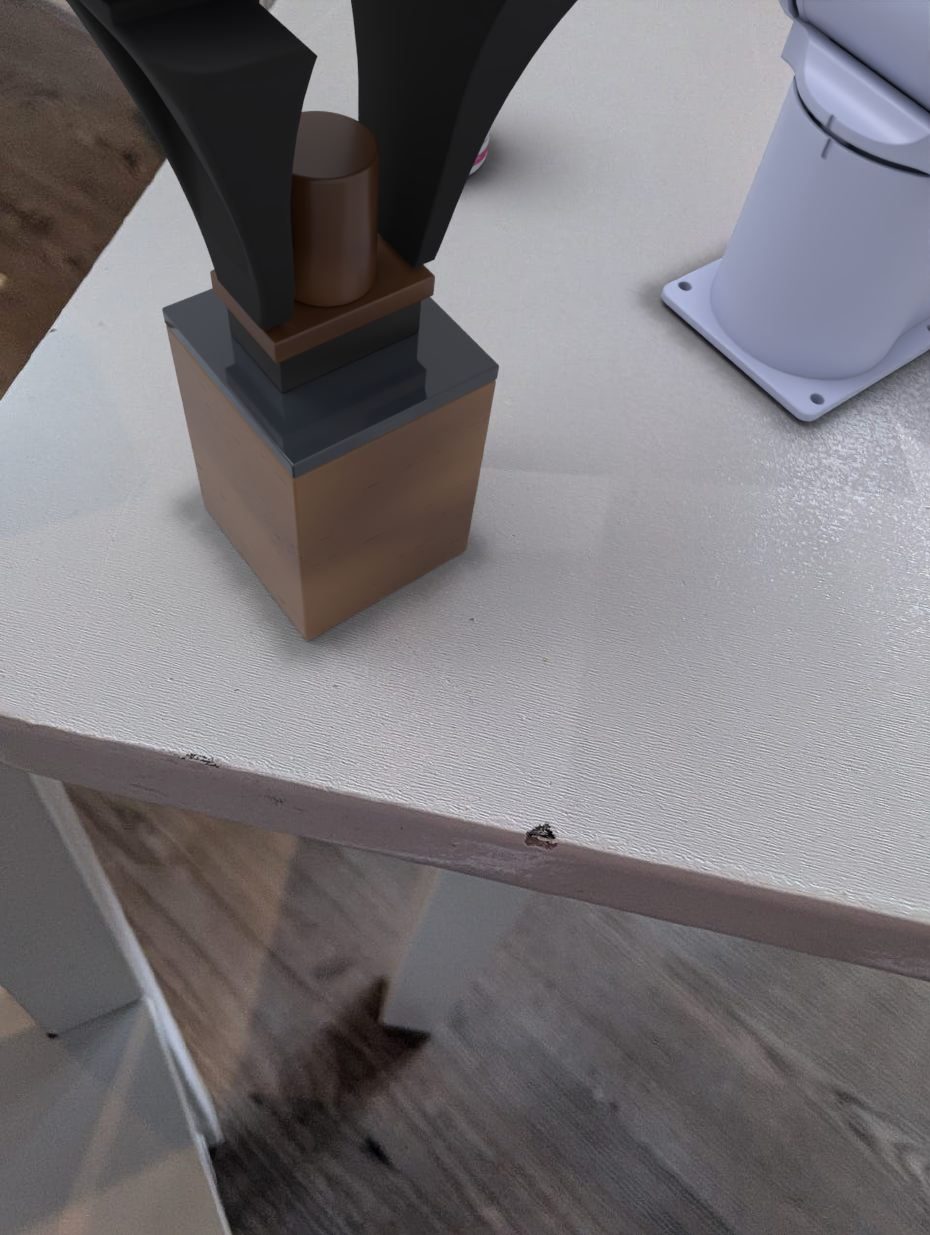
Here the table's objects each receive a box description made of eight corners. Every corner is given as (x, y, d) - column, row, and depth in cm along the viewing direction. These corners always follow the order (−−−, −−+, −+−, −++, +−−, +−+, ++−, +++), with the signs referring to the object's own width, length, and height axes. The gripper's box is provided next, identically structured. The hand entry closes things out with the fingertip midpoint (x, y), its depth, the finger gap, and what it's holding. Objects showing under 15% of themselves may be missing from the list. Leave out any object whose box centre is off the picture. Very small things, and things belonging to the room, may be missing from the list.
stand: (360, 430, 33) (362, 244, 26) (467, 551, 31) (497, 379, 24) (203, 507, 30) (164, 322, 24) (306, 643, 28) (293, 480, 22)
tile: (362, 244, 26) (363, 228, 26) (497, 379, 24) (500, 365, 24) (164, 322, 24) (160, 307, 24) (293, 480, 22) (292, 466, 22)
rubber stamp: (367, 269, 25) (370, 80, 21) (431, 334, 24) (448, 148, 20) (218, 331, 23) (188, 138, 19) (279, 403, 22) (263, 216, 18)
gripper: (567, -781, 15) (472, 92, 26) (-580, -902, 9) (-59, 274, 21) (927, -677, 12) (646, 239, 24) (-359, -757, 7) (94, 492, 18)
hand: (329, 268), depth 22 cm, fingers open, 3 cm apart
